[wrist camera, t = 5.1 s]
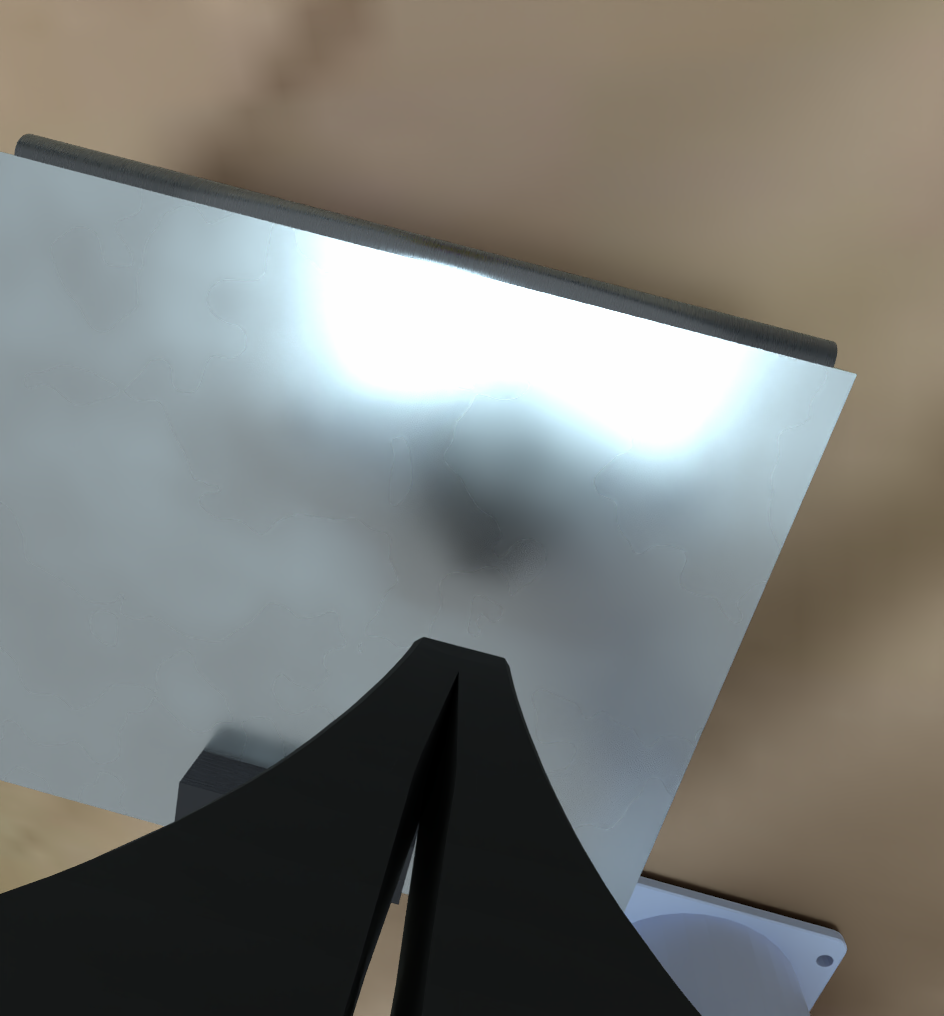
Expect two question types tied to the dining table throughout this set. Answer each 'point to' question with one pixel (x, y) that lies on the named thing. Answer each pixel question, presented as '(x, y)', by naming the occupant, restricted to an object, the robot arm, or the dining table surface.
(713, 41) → the dining table surface
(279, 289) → the steel lid
